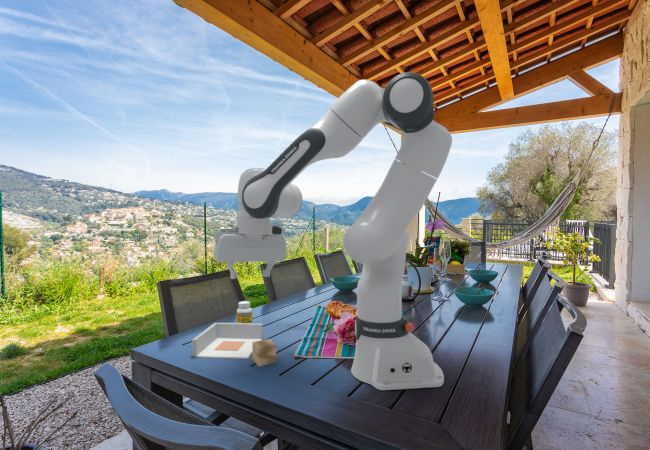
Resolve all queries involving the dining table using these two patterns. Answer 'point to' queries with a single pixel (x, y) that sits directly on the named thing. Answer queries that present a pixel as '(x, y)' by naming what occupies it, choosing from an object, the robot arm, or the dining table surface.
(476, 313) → the dining table surface
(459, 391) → the dining table surface
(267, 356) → the oak cube
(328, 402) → the dining table surface
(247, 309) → the supplement bottle
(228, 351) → the corner arena
